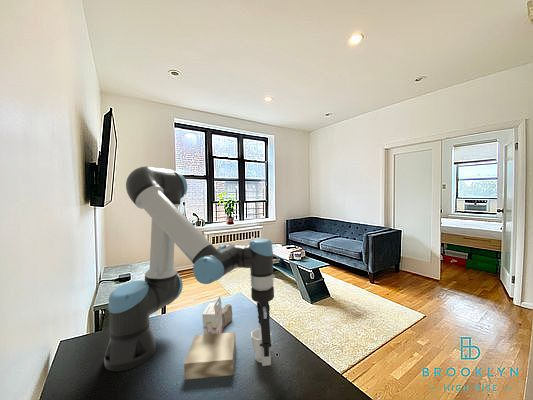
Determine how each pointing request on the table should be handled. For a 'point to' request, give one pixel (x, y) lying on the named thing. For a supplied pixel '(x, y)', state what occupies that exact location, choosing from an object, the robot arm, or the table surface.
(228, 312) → the mineral specimen
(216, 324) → the ink cartridge box
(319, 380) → the table surface
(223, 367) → the maple block
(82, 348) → the table surface
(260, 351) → the cup
